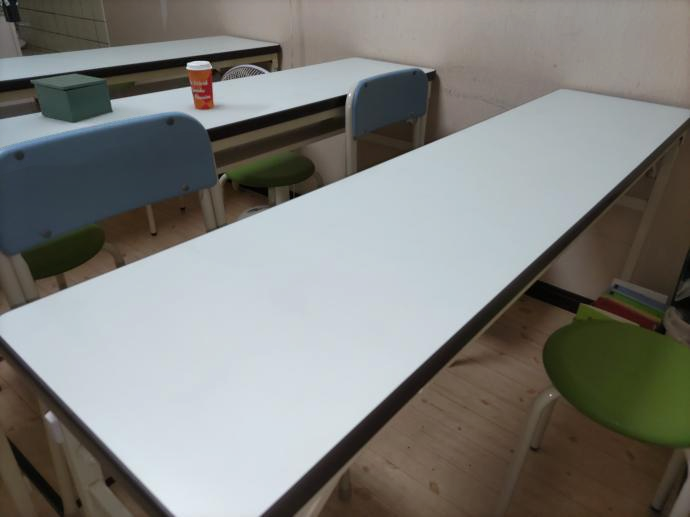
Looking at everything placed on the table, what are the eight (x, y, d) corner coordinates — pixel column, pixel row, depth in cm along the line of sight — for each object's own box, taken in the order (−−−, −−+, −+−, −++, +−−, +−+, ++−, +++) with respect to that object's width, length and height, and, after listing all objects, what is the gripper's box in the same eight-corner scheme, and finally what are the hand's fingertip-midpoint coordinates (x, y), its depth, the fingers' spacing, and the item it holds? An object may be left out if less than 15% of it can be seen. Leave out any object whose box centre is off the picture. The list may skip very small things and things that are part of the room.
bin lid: (63, 90, 139) (62, 87, 138) (30, 83, 144) (30, 80, 144) (106, 82, 150) (106, 79, 150) (75, 76, 155) (75, 73, 155)
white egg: (97, 108, 154) (91, 83, 150) (85, 115, 148) (78, 89, 144) (65, 107, 155) (58, 82, 151) (51, 114, 148) (44, 88, 145)
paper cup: (187, 111, 158) (180, 64, 151) (200, 105, 165) (194, 59, 158) (209, 113, 157) (203, 66, 149) (222, 107, 163) (216, 61, 156)
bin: (73, 123, 144) (66, 91, 140) (42, 115, 149) (34, 84, 145) (112, 112, 155) (106, 82, 150) (82, 105, 160) (75, 76, 155)
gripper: (-42, -60, 127) (-18, 20, 137) (-5, -58, 122) (18, 25, 131) (-12, -59, 133) (9, 18, 143) (25, -57, 127) (44, 23, 137)
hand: (13, 21), depth 137 cm, fingers closed
